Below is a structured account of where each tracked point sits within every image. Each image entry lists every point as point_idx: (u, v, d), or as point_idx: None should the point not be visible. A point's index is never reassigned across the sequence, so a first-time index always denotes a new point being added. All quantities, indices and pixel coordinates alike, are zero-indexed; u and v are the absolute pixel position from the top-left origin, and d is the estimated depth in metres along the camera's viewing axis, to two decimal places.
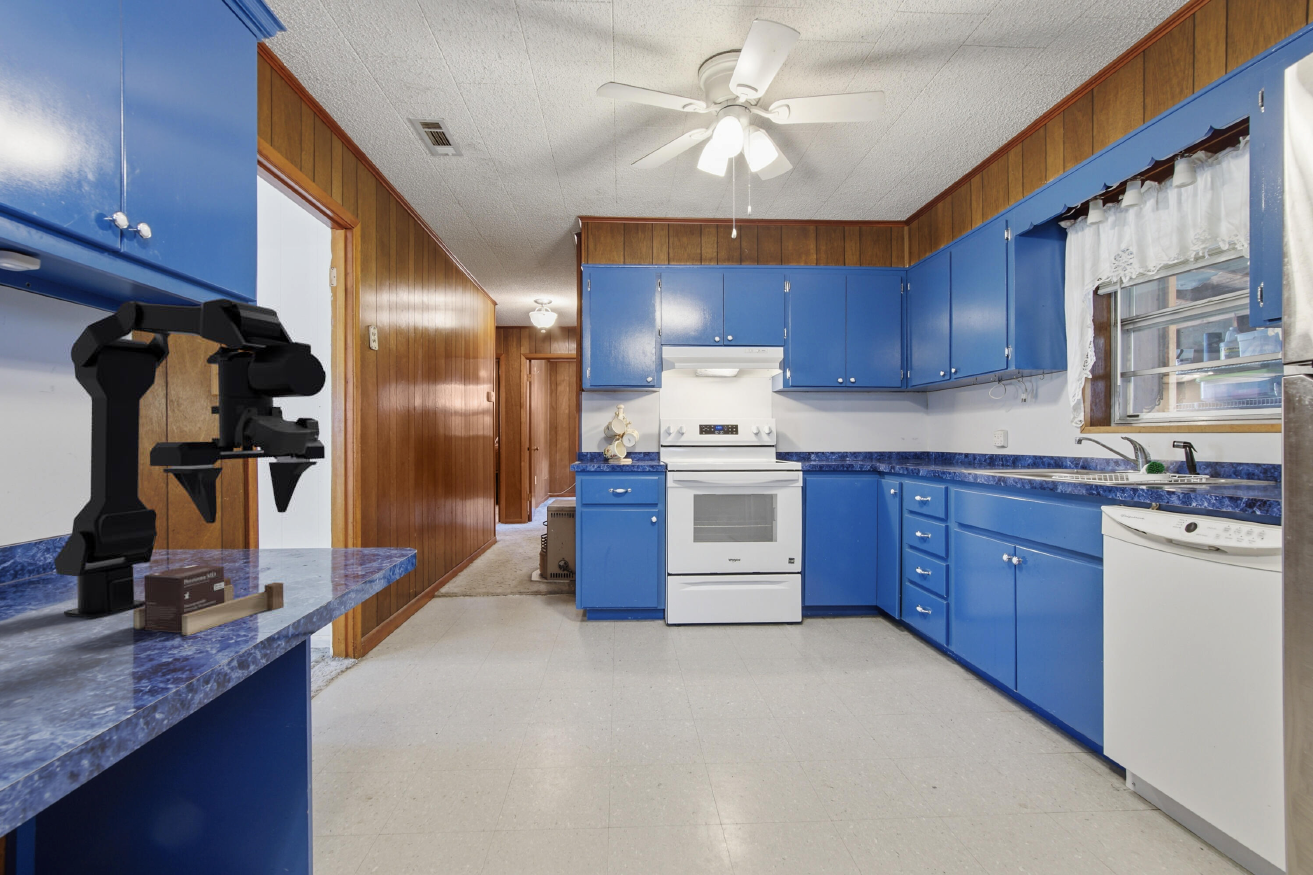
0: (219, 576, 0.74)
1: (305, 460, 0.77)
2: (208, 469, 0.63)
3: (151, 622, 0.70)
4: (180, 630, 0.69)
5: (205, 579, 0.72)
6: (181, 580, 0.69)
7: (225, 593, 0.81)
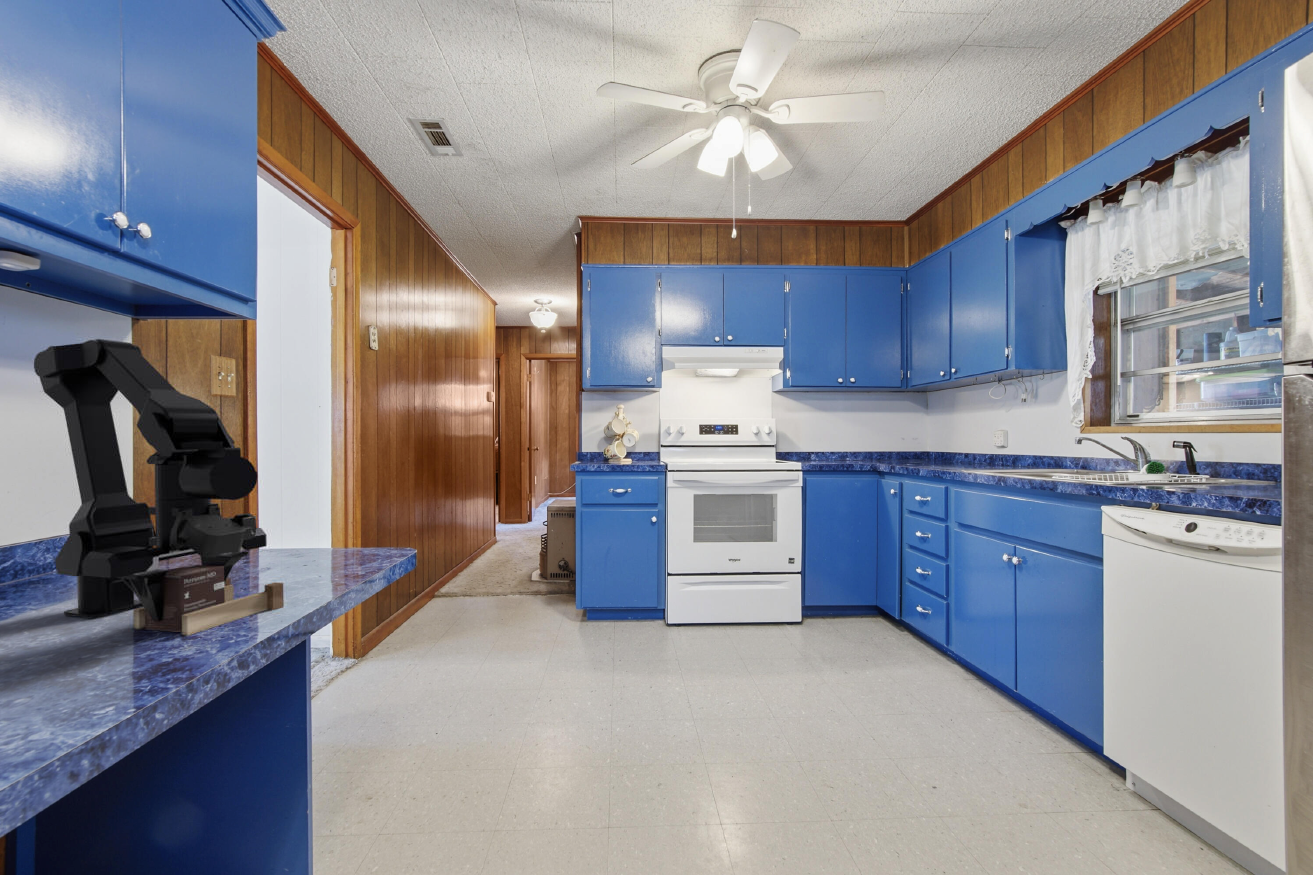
0: (219, 576, 0.74)
1: (237, 551, 0.77)
2: (152, 574, 0.66)
3: (151, 621, 0.70)
4: (180, 630, 0.69)
5: (205, 578, 0.72)
6: (181, 580, 0.69)
7: (225, 593, 0.81)
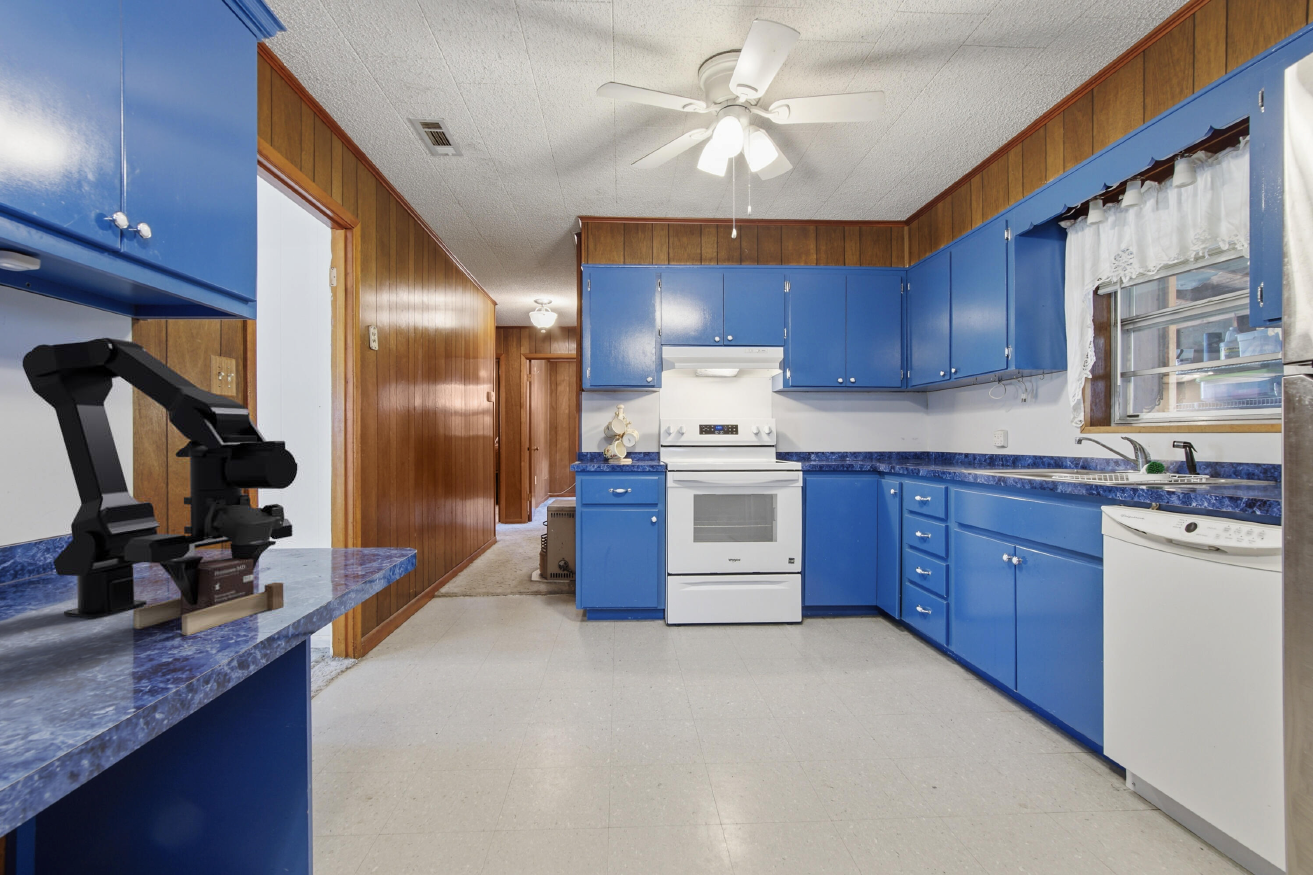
0: (249, 569, 0.78)
1: (264, 540, 0.81)
2: (189, 560, 0.70)
3: (186, 610, 0.74)
4: None
5: (234, 571, 0.76)
6: (212, 572, 0.73)
7: None
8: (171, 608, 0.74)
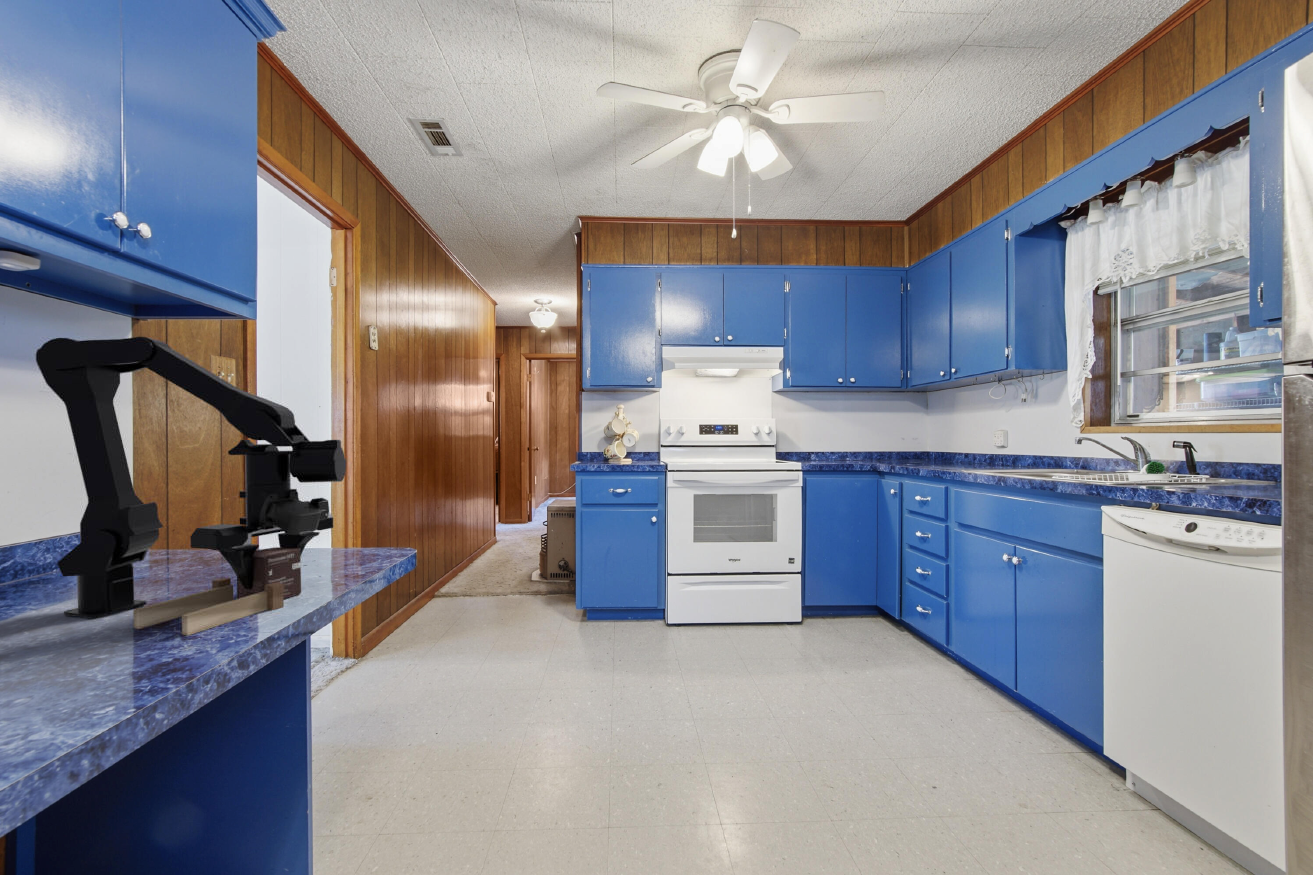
0: (297, 557, 0.85)
1: (309, 531, 0.89)
2: (248, 547, 0.78)
3: (242, 594, 0.81)
4: None
5: (285, 559, 0.83)
6: (266, 559, 0.80)
7: (225, 593, 0.81)
8: (171, 608, 0.74)
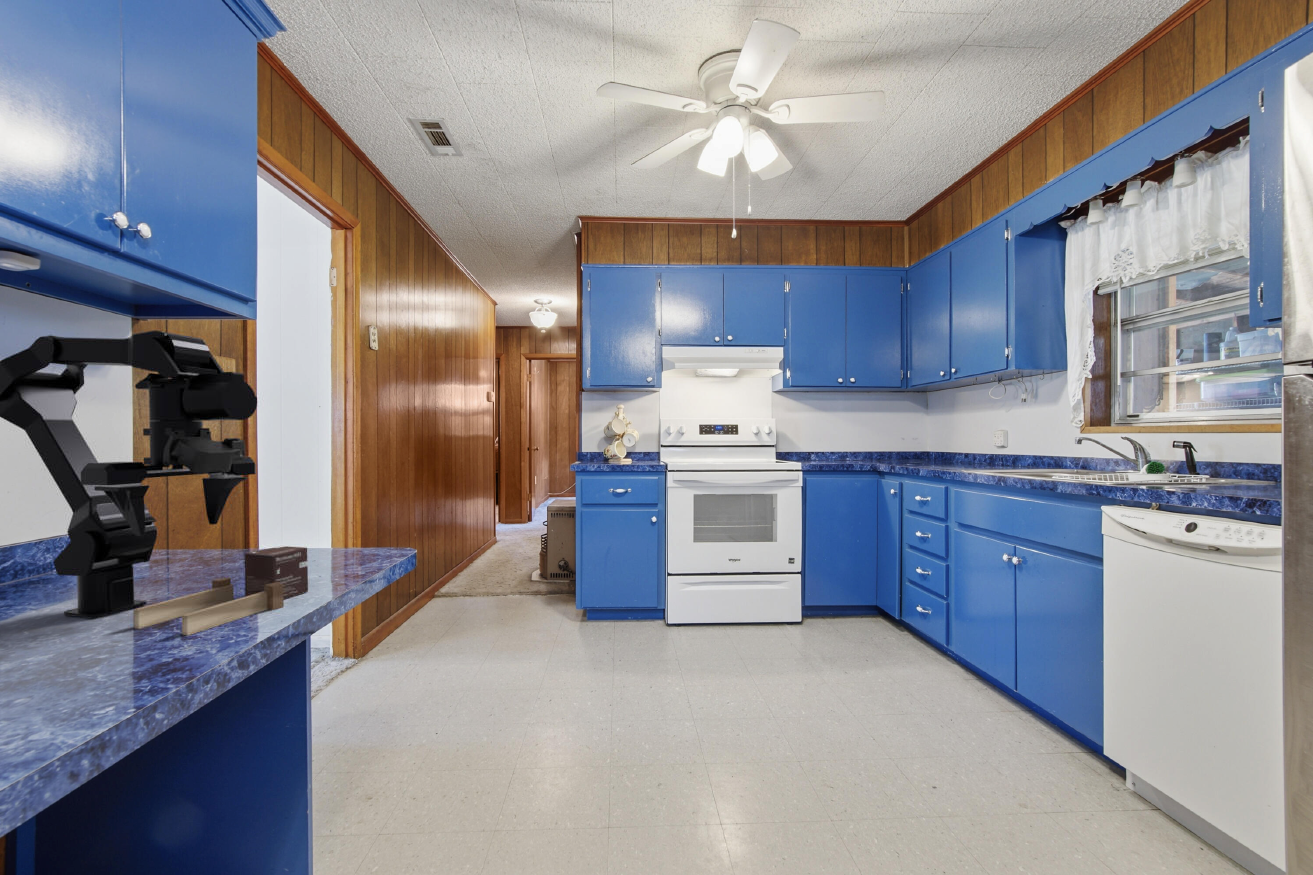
0: (304, 556, 0.86)
1: (236, 476, 0.83)
2: (134, 487, 0.70)
3: (250, 593, 0.82)
4: None
5: (292, 557, 0.84)
6: (274, 558, 0.81)
7: (225, 593, 0.81)
8: (171, 608, 0.74)
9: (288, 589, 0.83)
